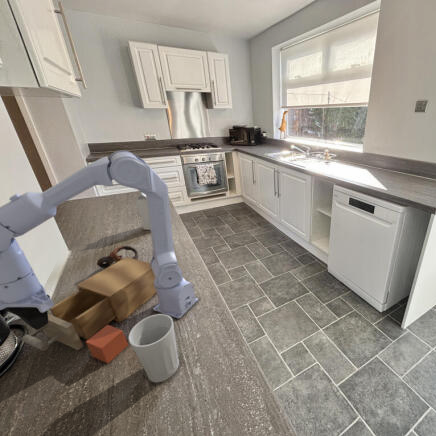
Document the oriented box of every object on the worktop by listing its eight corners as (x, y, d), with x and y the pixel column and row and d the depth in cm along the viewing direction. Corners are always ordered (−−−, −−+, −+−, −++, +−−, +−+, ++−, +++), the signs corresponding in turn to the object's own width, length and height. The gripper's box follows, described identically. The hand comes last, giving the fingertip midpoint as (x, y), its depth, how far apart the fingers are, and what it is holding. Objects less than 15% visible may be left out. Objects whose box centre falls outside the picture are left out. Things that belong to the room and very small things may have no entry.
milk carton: (166, 224, 119) (158, 187, 111) (157, 230, 113) (148, 192, 105) (153, 223, 120) (144, 186, 112) (143, 229, 113) (133, 191, 105)
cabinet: (119, 322, 64) (110, 296, 61) (87, 310, 68) (76, 285, 64) (162, 288, 77) (156, 264, 73) (133, 279, 81) (126, 256, 77)
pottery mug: (127, 256, 94) (133, 241, 91) (139, 273, 91) (145, 258, 87) (90, 264, 84) (95, 247, 80) (101, 284, 80) (107, 267, 77)
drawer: (56, 367, 52) (42, 344, 49) (24, 351, 55) (9, 328, 52) (130, 309, 68) (123, 289, 64) (101, 299, 71) (93, 279, 68)
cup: (188, 351, 57) (179, 313, 52) (174, 386, 50) (162, 346, 45) (154, 351, 57) (142, 314, 52) (135, 386, 50) (119, 347, 45)
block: (128, 345, 58) (122, 330, 56) (108, 363, 54) (101, 348, 52) (113, 339, 60) (107, 324, 58) (92, 356, 55) (85, 341, 53)
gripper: (-39, 279, 46) (-4, 330, 51) (6, 298, 41) (39, 351, 47) (10, 260, 52) (37, 307, 57) (54, 274, 47) (78, 324, 53)
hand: (41, 325), depth 53 cm, fingers closed
